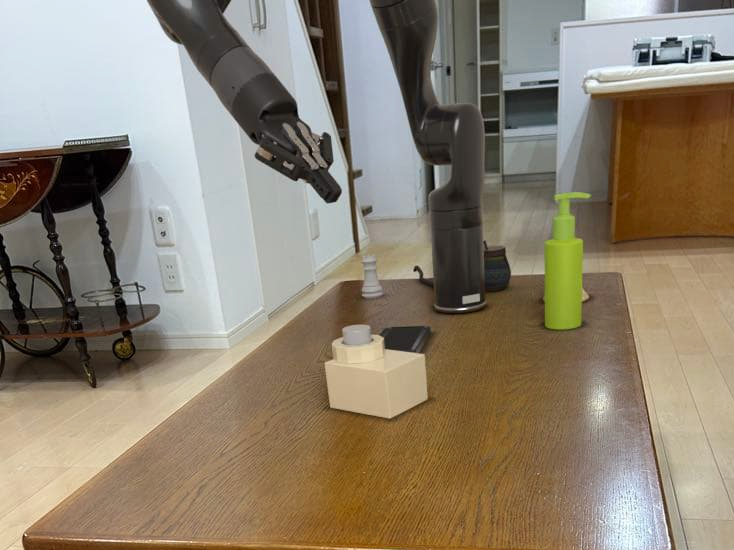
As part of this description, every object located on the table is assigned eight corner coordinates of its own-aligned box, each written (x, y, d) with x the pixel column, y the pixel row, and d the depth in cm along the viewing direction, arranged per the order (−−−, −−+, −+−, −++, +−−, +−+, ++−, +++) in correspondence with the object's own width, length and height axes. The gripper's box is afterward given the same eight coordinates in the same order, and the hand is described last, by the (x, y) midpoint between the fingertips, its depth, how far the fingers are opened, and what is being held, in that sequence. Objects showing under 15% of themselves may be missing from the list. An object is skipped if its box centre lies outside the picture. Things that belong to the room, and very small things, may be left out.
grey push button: (338, 346, 105) (336, 330, 104) (356, 339, 107) (354, 323, 106) (359, 349, 103) (358, 332, 102) (377, 341, 105) (376, 325, 104)
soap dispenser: (587, 328, 131) (590, 193, 122) (543, 330, 133) (543, 196, 123) (588, 319, 136) (591, 189, 127) (545, 321, 138) (545, 192, 128)
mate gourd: (513, 285, 165) (512, 232, 161) (508, 293, 159) (507, 238, 154) (477, 286, 167) (476, 234, 163) (471, 294, 161) (469, 240, 156)
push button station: (325, 406, 108) (317, 346, 104) (364, 389, 113) (358, 330, 109) (390, 419, 101) (384, 355, 98) (428, 399, 107) (423, 338, 103)
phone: (431, 325, 136) (415, 350, 123) (431, 332, 137) (416, 357, 124) (384, 327, 138) (364, 351, 125) (385, 333, 138) (365, 359, 126)
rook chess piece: (383, 298, 165) (379, 256, 161) (361, 299, 165) (356, 258, 161) (384, 293, 169) (380, 252, 165) (362, 295, 169) (358, 254, 165)
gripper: (225, 71, 99) (313, 180, 98) (301, 70, 108) (382, 169, 107) (204, 123, 104) (287, 227, 103) (278, 117, 113) (355, 213, 112)
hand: (335, 197), depth 105 cm, fingers closed
